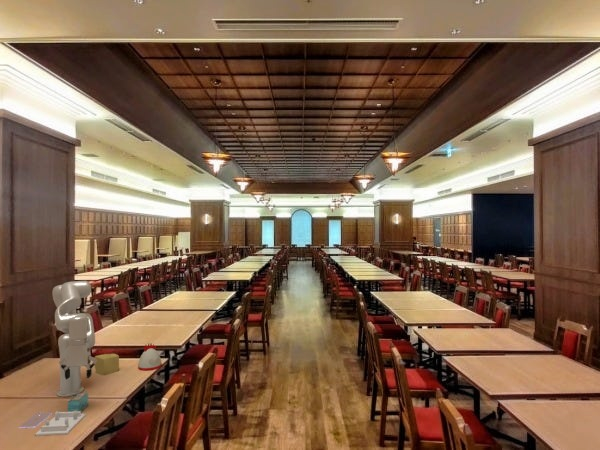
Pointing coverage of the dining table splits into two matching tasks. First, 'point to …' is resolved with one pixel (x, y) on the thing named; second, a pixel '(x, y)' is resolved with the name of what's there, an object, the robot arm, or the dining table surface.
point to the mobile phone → (36, 420)
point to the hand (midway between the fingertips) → (78, 377)
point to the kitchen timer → (149, 359)
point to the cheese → (107, 363)
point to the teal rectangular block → (78, 402)
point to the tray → (61, 423)
